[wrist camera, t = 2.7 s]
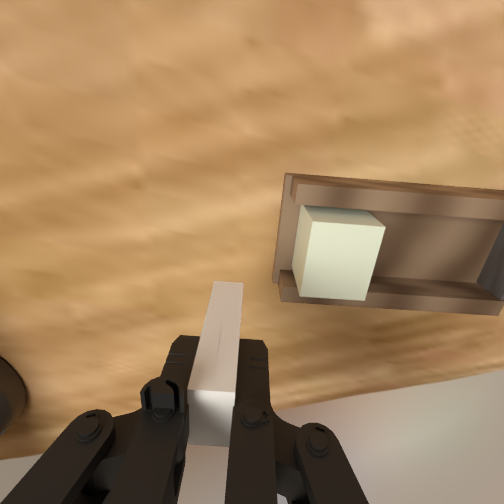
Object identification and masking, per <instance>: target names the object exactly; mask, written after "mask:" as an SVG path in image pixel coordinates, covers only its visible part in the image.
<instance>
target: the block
mask: <svg viewBox="0 0 504 504" xmlns="http://www.w3.org/2000/svg"><path fill="white" fill-rule="evenodd" d="M385 228H386V227H385V226H384V225H383V224H382V223H381V222H379V221H378V220H377V219H376V218H375V217H373V216H372V215H371V214H370V213H369V212H368V211H366V210H361V209H348V208H335V207H322V206H309V205H301V207H300V214H299V221H298V227H297V234H296V240H295V247H294V254H293V260H292V269H293V273H294V277H295V281H296V284H297V288H298V292H299V296H300V297H315V298H330V299H345V300H360V301H365V298H366V294H367V291H368V287H369V284H370V280H371V277H372V273H373V270H374V266H375V263H376V259H377V256H378V252H379V249H380V245H381V242H382V238H383V235H384V231H385Z"/></svg>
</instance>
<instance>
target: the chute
mask: <svg viewBox="0 0 504 504" xmlns="http://www.w3.org/2000/svg"><path fill="white" fill-rule="evenodd" d="M301 205H309V206H322V207H335V208H348V209H361V210H366V211H368V212H369V213H370V214H371V215H372V216H373V217H375V218H376V219H377V220H378V221H379V222H381V223H382V224H383V225H384V226H385V227H386V228H385V231H384V235H383V238H382V242H381V245H380V249H379V252H378V256H377V259H376V263H375V266H374V270H373V273H372V277H371V280H370V284H369V287H368V291H367V294H366V298H365V301H360V300H345V299H330V298H315V297H300V296H299V292H298V288H297V284H296V281H295V277H294V273H293V269H292V260H293V254H294V247H295V240H296V234H297V227H298V221H299V214H300V207H301ZM272 280H273V283H278V286H279V292H280V299H281V302H294V303H309V304H324V305H339V306H355V307H370V308H385V309H400V310H416V311H431V312H446V313H461V314H477V315H492V316H498V315H499V313H500V311H501V309H502V307H503V306H504V190H493V189H480V188H468V187H455V186H443V185H430V184H418V183H405V182H393V181H380V180H368V179H355V178H343V177H330V176H318V175H305V174H292V173H285V177H284V185H283V193H282V202H281V210H280V218H279V226H278V234H277V242H276V250H275V259H274V267H273V275H272Z"/></svg>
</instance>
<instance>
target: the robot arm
mask: <svg viewBox="0 0 504 504" xmlns="http://www.w3.org/2000/svg"><path fill="white" fill-rule="evenodd" d="M243 286H244V283H237V282H224V281H214V285H213V289H212V293H211V297H210V301H209V305H208V309H207V313H206V317H205V321H204V325H203V329H202V332H201V336H200V337H199V336H185V335H180V336H179V337H178V338H177V339H176V340H175V341H174V342H173V343H172V346H171V348H170V351H169V355H168V357H167V359H166V363H165V365H164V367H163V370H162V373H161V376H160V377H157V378H155V379H152V380H150V381H149V382H148V383H147V384H145V385H144V387H143V388H142V390H141V391H140V395H141V404H142V408H141V409H139V410H137V411H135V412H132V413H129V414H125V415H120V416H116V417H112V416H111V414H110V413H109V412H107V411H105V410H99V409H96V410H91V411H87V412H85V413H83V414H81V415H79V416H78V417H77V418H76V419H74V420H73V421H72V422H71V423H70V424H69V425H68V426H67V428H66V429H65V430H64V431H63V432H62V433H61V434H60V436H59V437H58V438H57V439H56V440H55V441H54V442H53V444H52V445H51V446H50V447H49V448H48V449H47V450H46V452H45V453H44V454H43V455H42V456H41V457H40V459H39V460H38V461H37V462H36V463H35V464H34V465H33V467H32V468H31V469H30V470H29V471H28V472H27V473H26V475H25V476H24V477H23V478H22V479H21V481H19V483H18V484H17V485H16V486H15V487H14V488H13V490H12V491H11V492H10V493H9V494H8V495H7V497H6V498H5V499H4V500H3V501H2V502H1V503H0V504H177V501H178V496H179V491H180V486H181V482H182V477H183V472H184V467H185V451H186V446H187V442H188V444H193V445H209V446H225V447H229V458H228V469H227V481H226V493H225V504H277V493H278V494H280V495H282V496H285V497H286V499H287V502H288V504H369V503H368V501H367V499H366V497H365V495H364V493H363V491H362V489H361V486H360V484H359V482H358V480H357V478H356V476H355V474H354V472H353V470H352V468H351V466H350V464H349V461H348V459H347V458H346V455H345V453H344V451H343V449H342V447H341V445H340V443H339V441H338V439H337V438H336V436H335V435H334V433H333V432H332V431H331V430H330V429H328V428H327V427H326V426H324V425H321V424H319V423H307V424H305V425H303V426H302V427H301V428H299V427H297V426H294V425H291V424H289V423H287V422H285V421H283V420H282V419H280V418H279V417H278V416H277V415H276V414H275V412H274V411H273V409H272V407H271V403H270V388H269V370H268V368H269V366H268V349H267V347H266V345H265V344H264V342H263V340H252V339H239V338H240V325H241V312H242V299H243ZM25 404H26V392H25V388H24V386H23V383H22V382H21V380H20V378H19V377H18V375H17V374H16V373H15V371H14V370H13V369H12V368H11V367H10V366H9V365H8V364H7V363H6V362H4V361H3V360H2V359H1V358H0V436H1V435H3V434H4V433H5V432H6V431H7V430H8V429H9V428H10V427H11V425H12V424H13V423H14V422H15V420H16V419H17V418H18V416H19V415H20V414H21V413H22V411H23V409H24V407H25Z"/></svg>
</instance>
